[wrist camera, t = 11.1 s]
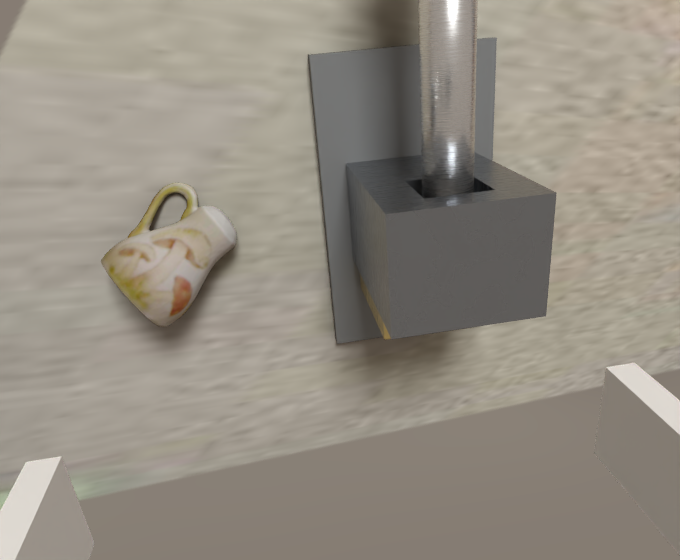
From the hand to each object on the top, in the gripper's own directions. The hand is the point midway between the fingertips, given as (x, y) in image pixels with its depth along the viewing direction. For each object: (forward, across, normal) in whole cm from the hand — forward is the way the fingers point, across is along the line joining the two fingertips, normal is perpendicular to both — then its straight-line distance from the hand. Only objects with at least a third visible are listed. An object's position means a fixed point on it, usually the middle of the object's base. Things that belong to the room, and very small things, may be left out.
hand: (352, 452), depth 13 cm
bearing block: (+33, +10, -4) cm, 34 cm away
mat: (+33, +10, -4) cm, 34 cm away
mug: (+33, -9, -5) cm, 35 cm away
